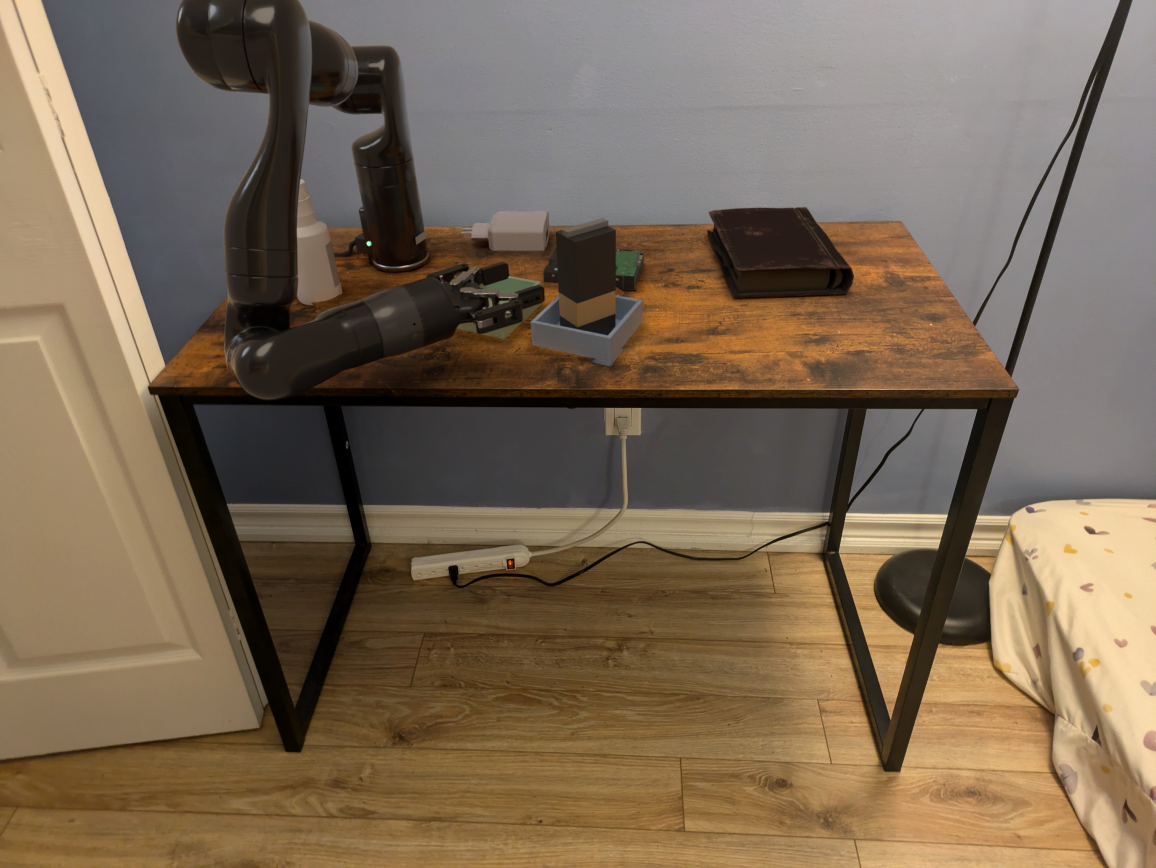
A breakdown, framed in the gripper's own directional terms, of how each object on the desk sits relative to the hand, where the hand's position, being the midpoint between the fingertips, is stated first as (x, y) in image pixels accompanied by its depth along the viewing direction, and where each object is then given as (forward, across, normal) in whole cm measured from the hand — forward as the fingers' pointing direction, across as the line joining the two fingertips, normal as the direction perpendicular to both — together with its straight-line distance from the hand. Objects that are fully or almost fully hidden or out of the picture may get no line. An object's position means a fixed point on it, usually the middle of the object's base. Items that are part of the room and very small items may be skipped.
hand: (524, 280), depth 96 cm
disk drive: (+22, +16, +12) cm, 30 cm away
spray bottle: (-16, +37, +12) cm, 42 cm away
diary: (+48, +2, +12) cm, 49 cm away
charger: (+18, +36, +12) cm, 42 cm away
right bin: (+10, 0, +12) cm, 15 cm away
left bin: (+2, +14, +12) cm, 18 cm away
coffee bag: (+10, 0, +11) cm, 14 cm away
